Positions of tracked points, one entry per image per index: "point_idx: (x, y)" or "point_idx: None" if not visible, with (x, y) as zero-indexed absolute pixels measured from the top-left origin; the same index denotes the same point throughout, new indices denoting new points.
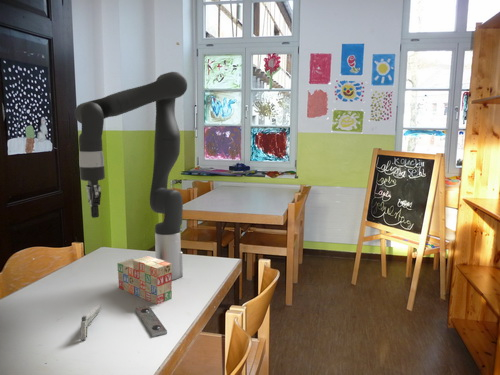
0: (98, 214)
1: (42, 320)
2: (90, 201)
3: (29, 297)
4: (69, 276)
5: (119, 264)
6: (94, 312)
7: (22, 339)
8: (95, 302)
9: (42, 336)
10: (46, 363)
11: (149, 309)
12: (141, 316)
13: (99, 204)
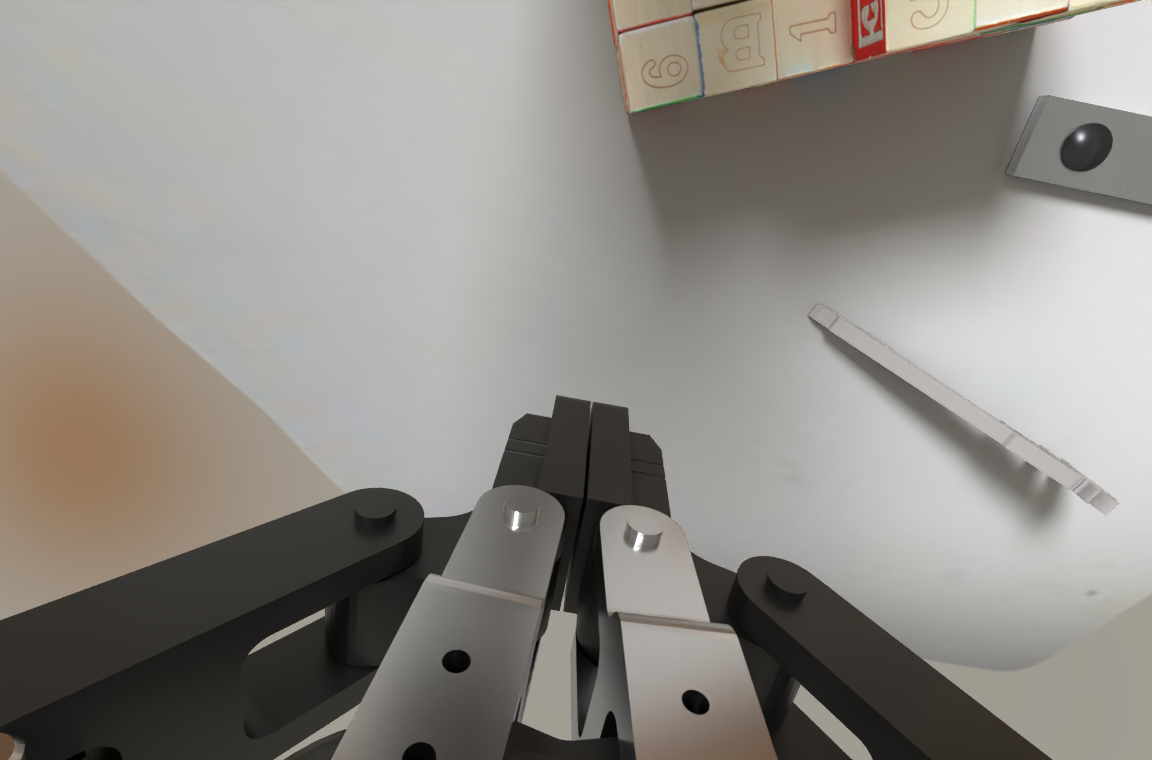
0: (625, 424)
1: (758, 524)
2: (581, 719)
3: None
4: (273, 284)
5: (657, 106)
6: (949, 389)
7: (863, 605)
8: (738, 300)
9: (896, 557)
10: (1095, 593)
11: (1095, 118)
12: (1125, 196)
13: (811, 582)
